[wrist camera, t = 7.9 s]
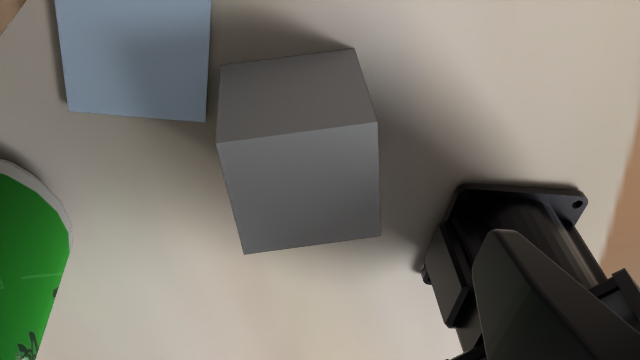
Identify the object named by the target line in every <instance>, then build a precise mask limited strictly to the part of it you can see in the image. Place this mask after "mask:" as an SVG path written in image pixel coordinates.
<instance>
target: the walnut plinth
mask: <svg viewBox="0 0 640 360" xmlns="http://www.w3.org/2000/svg"><path fill="white" fill-rule="evenodd" d="M25 2H26V0H0V35H1V34H2V33H3V31H4V30H5V29H6V27H7V26H8V25H9V23H10V22H11V20H12V19H13V18H14V16H15V15H16V14H17V12H18V11H19V10H20V8H21V7H22V6H23V4H24V3H25Z"/></svg>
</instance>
